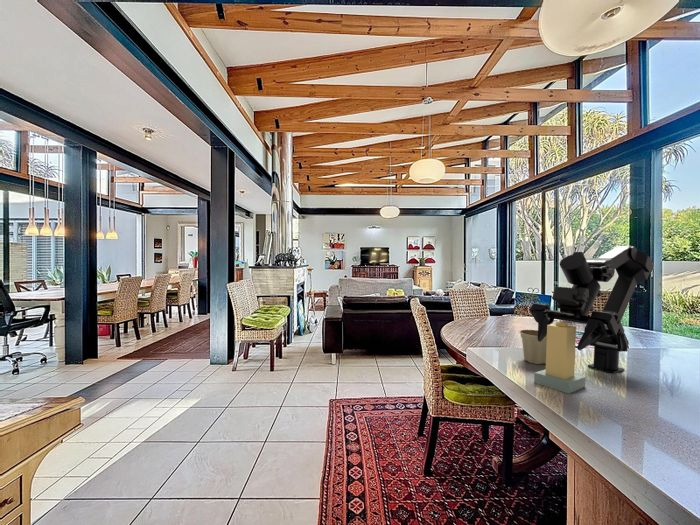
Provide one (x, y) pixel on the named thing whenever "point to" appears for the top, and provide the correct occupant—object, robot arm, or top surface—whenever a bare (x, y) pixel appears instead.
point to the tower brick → (560, 350)
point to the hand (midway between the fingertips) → (557, 344)
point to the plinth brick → (560, 381)
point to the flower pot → (533, 347)
